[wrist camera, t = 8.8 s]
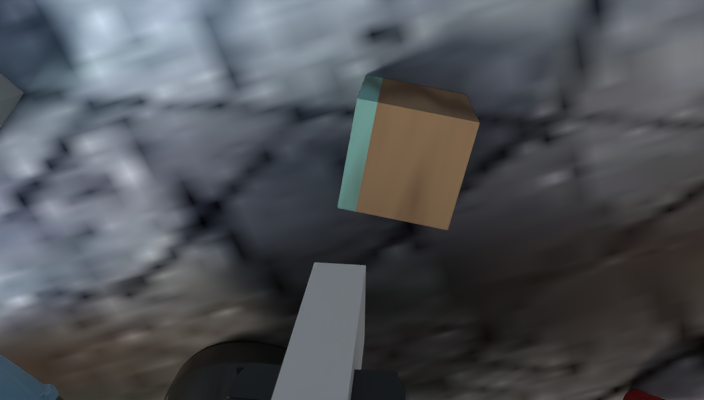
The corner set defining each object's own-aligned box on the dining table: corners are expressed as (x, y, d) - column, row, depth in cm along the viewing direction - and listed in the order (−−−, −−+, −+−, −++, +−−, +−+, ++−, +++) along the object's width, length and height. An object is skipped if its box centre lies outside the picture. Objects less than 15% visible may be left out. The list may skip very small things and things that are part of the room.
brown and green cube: (366, 74, 29) (465, 94, 29) (349, 167, 31) (440, 185, 31) (357, 98, 23) (479, 122, 23) (337, 207, 26) (447, 230, 26)
